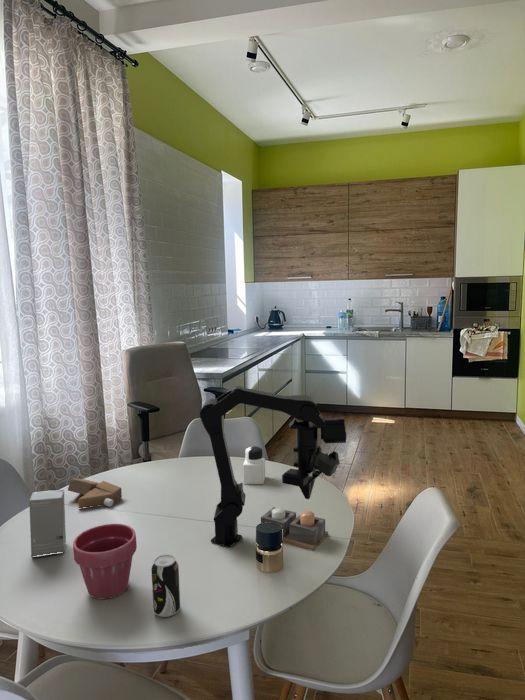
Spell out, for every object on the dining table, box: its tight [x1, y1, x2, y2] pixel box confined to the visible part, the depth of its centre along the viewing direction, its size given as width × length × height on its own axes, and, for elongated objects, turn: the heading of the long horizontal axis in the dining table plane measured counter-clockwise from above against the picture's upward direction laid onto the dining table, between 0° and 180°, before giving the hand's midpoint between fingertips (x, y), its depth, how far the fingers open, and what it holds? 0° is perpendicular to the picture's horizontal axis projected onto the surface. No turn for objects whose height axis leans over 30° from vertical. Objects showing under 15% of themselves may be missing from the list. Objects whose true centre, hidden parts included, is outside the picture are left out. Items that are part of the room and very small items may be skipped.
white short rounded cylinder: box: [272, 507, 286, 520], centre depth 148 cm, size 4×4×5 cm
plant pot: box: [72, 523, 138, 600], centre depth 122 cm, size 14×14×13 cm
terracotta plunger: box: [299, 510, 315, 528], centre depth 143 cm, size 4×4×5 cm
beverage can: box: [150, 554, 181, 618], centre depth 113 cm, size 6×6×12 cm
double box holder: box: [260, 506, 329, 552], centre depth 146 cm, size 10×17×5 cm, turn 60°
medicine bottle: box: [242, 446, 266, 485], centre depth 185 cm, size 7×7×12 cm
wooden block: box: [67, 477, 123, 509], centre depth 171 cm, size 8×13×18 cm
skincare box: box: [28, 489, 67, 557], centre depth 139 cm, size 8×7×16 cm
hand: (307, 498), depth 142 cm, fingers closed
